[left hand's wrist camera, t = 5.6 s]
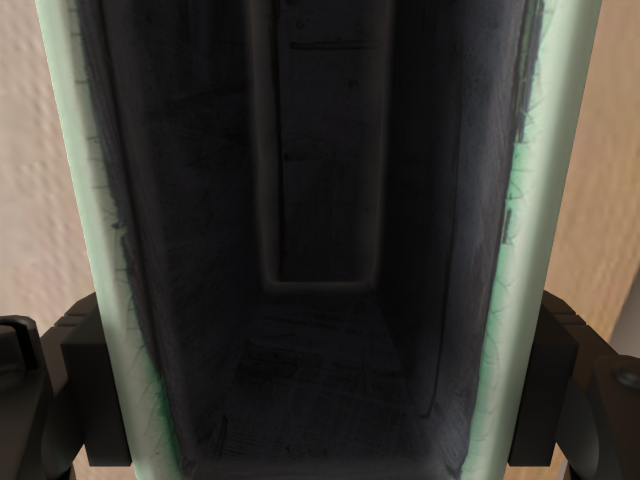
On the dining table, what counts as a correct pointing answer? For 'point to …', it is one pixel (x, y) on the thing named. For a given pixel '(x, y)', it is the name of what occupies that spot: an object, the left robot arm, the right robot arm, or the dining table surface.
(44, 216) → the dining table surface
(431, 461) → the planter
